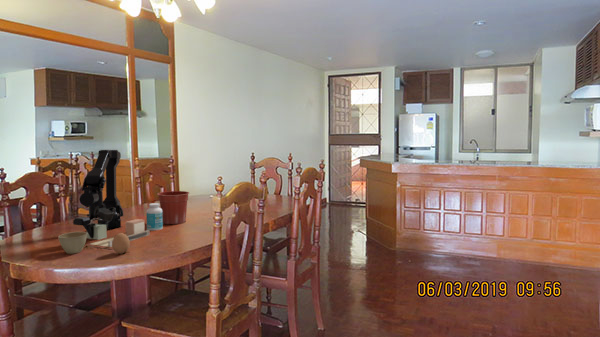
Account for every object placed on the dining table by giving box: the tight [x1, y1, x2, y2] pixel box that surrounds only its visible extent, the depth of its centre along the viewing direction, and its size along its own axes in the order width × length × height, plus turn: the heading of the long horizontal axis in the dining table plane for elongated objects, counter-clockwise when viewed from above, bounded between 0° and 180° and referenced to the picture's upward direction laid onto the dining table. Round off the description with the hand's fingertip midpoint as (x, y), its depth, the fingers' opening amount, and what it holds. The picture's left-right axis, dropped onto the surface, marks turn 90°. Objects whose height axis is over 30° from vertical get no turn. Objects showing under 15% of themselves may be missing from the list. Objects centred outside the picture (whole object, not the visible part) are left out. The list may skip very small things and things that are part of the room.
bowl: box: [58, 231, 88, 255], centre depth 160 cm, size 10×10×7 cm
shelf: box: [89, 229, 151, 251], centre depth 175 cm, size 12×22×3 cm, turn 157°
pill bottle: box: [145, 202, 164, 231], centre depth 196 cm, size 8×7×14 cm
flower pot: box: [156, 190, 190, 225], centre depth 216 cm, size 16×16×16 cm
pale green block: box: [86, 222, 108, 241], centre depth 178 cm, size 5×7×7 cm
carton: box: [124, 218, 146, 236], centre depth 181 cm, size 5×7×7 cm
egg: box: [111, 232, 131, 255], centre depth 158 cm, size 6×6×8 cm
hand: (96, 236), depth 178 cm, fingers closed on pale green block, 5 cm apart
